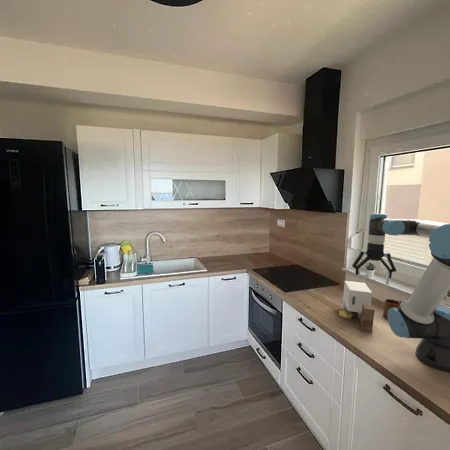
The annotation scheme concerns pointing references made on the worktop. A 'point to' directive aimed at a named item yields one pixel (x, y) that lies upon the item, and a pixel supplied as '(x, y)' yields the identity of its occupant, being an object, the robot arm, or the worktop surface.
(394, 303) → the mug
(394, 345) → the worktop surface
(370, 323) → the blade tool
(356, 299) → the cabinet
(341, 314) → the brass token
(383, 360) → the worktop surface
